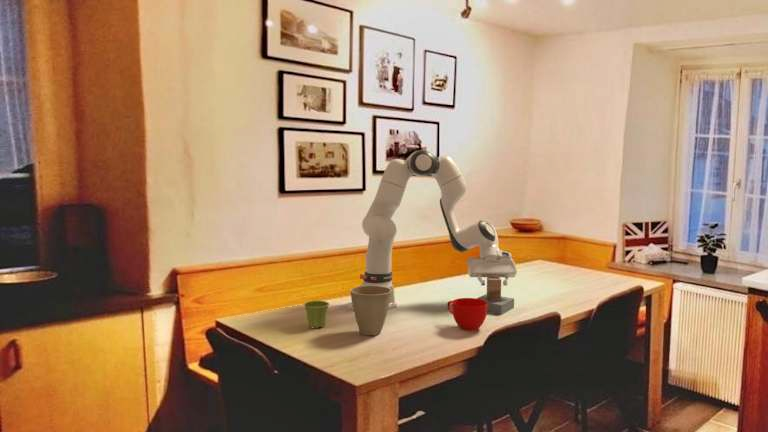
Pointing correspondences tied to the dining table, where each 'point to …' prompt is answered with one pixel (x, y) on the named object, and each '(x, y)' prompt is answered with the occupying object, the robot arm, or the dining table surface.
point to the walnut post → (493, 289)
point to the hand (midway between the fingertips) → (494, 284)
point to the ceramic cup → (468, 312)
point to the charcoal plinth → (498, 305)
